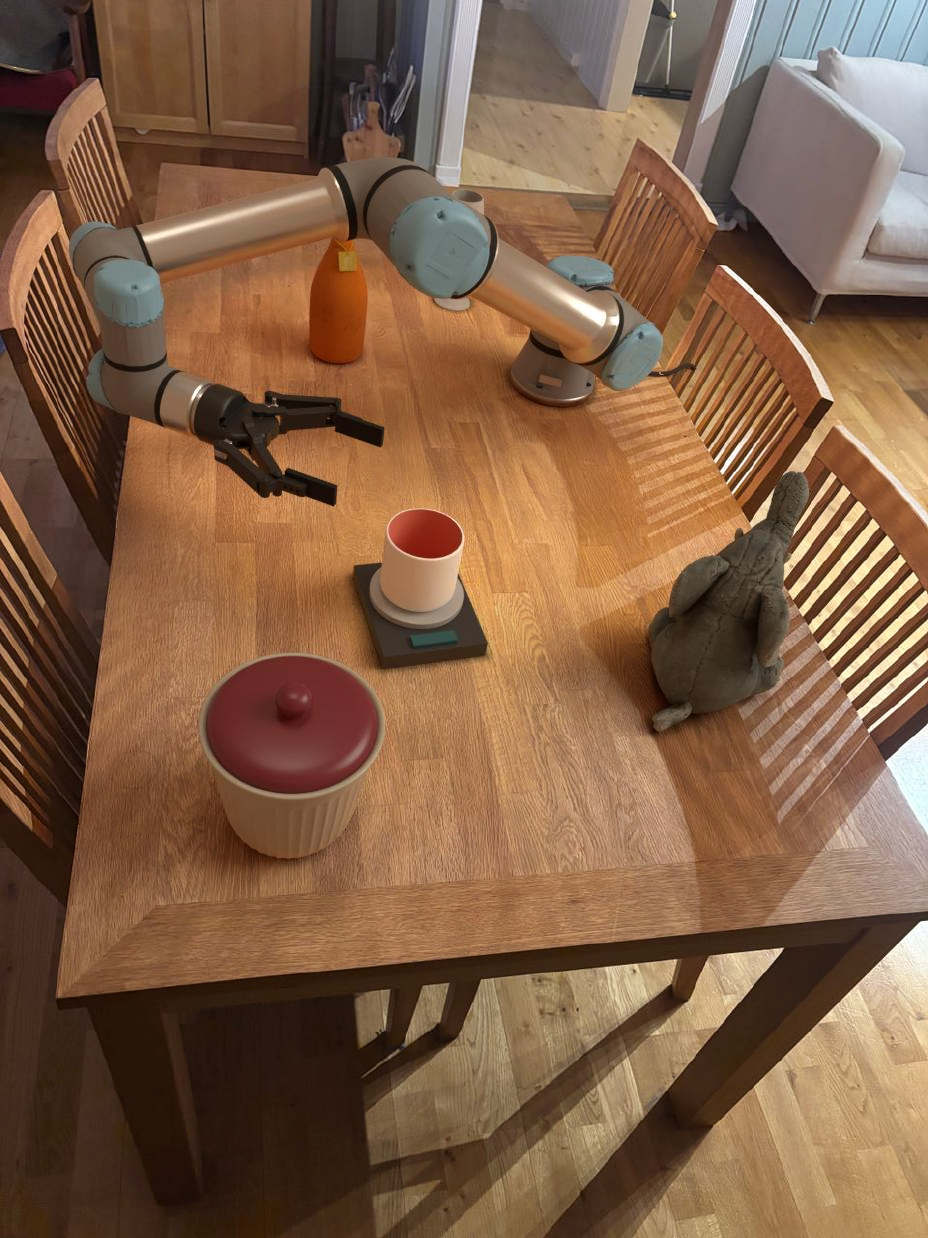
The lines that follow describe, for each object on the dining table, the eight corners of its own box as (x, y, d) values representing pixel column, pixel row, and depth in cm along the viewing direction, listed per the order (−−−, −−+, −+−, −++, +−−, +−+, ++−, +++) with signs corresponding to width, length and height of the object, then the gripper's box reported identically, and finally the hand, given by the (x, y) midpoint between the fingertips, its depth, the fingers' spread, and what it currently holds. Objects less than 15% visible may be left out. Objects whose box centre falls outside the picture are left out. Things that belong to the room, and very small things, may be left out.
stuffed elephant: (733, 614, 140) (807, 463, 121) (790, 729, 126) (884, 580, 107) (608, 617, 136) (664, 461, 117) (653, 737, 122) (725, 582, 103)
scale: (448, 567, 138) (452, 549, 136) (485, 655, 127) (489, 638, 125) (352, 577, 134) (354, 559, 132) (382, 669, 123) (384, 651, 121)
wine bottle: (299, 357, 171) (304, 185, 149) (319, 331, 177) (326, 164, 156) (352, 372, 170) (365, 201, 149) (370, 345, 177) (385, 178, 155)
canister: (405, 813, 109) (428, 694, 94) (285, 921, 98) (289, 806, 83) (294, 720, 116) (299, 595, 101) (170, 811, 105) (154, 686, 90)
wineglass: (475, 298, 195) (493, 194, 180) (463, 315, 190) (480, 208, 175) (440, 288, 196) (455, 183, 181) (427, 303, 191) (441, 197, 176)
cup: (445, 624, 126) (455, 568, 118) (370, 605, 126) (376, 548, 119) (460, 574, 133) (471, 518, 126) (389, 556, 133) (396, 500, 126)
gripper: (256, 390, 133) (397, 439, 130) (152, 488, 116) (312, 547, 113) (255, 341, 128) (403, 391, 125) (147, 437, 111) (314, 497, 108)
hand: (360, 465), depth 119 cm, fingers open, 13 cm apart
